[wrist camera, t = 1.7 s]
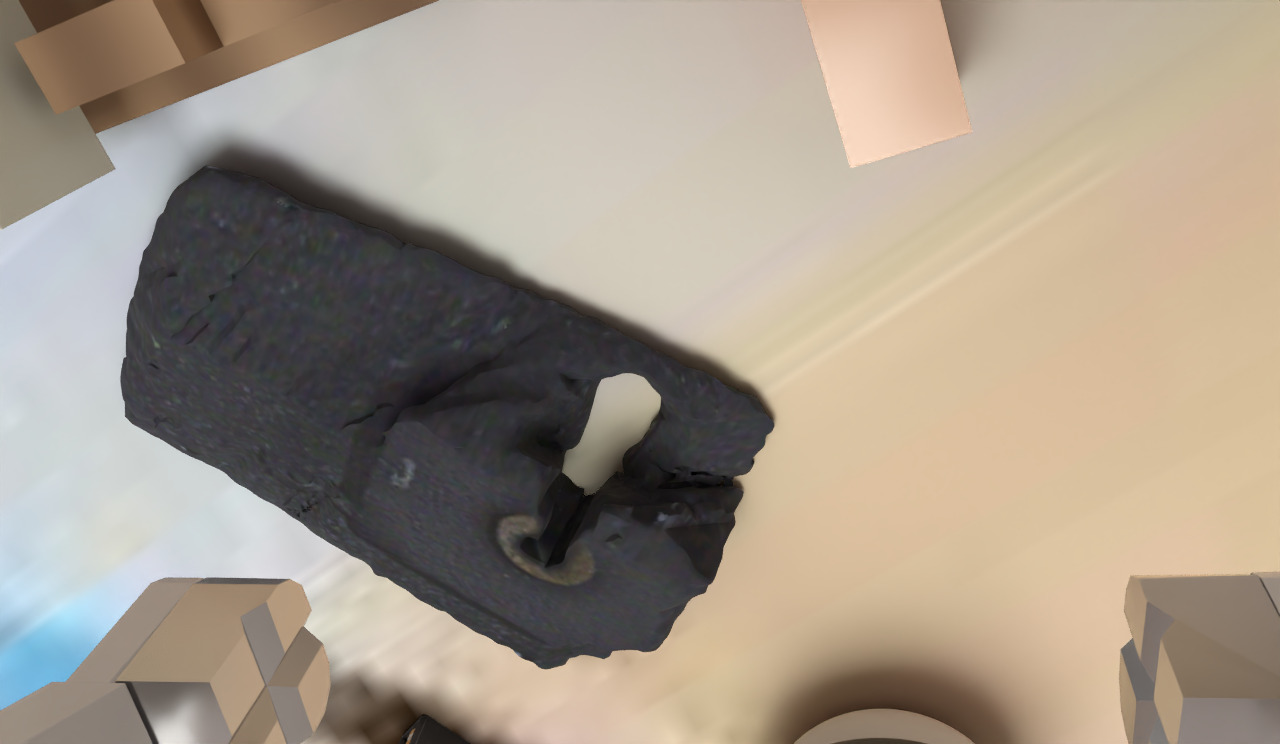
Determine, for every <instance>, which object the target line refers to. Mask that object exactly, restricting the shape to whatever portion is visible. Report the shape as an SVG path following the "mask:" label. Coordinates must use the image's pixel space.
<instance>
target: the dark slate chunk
mask: <svg viewBox="0 0 1280 744" xmlns="http://www.w3.org/2000/svg"><path fill="white" fill-rule="evenodd" d="M126 356H127V357H125V358H124V359H123V364H122V370H121V389H122V396H123V399H124V401H125V417H126V418H127V419H128V420H129V421H130V422H131V423H132V424H134V425H135V426H137V427H139V428H141V429H143V430H145V431H146V432H148V433H150V434H151V435H153V436H155V437H158V438H160V439H162V440H163V441H165V442H166V443H168V444H170V445H171V446H173V447H174V448H176V449H178V450H179V451H181V452H183V453H185V454H187V455H189V456H191V457H193V458H195V459H198V460H201V461H203V462H205V463H207V464H208V465H211V466H213V467H215V468H218V469H220V470H221V471H223V472H225V473H226V474H227V475H228V476H229V477H230V478H231V479H232V480H233V481H235V482H236V483H237V484H239V485H241V486H243V487H245V488H247V489H249V490H250V491H251V492H253V493H254V494H255V495H257V496H258V497H260V498H262V499H264V500H265V501H268V502H270V503H272V504H274V505H276V506H278V507H279V508H281V509H282V510H283V511H285V512H286V513H287V514H289V515H290V516H291V517H293V518H295V519H296V520H298V521H300V522H301V523H303V524H304V525H305V526H306V527H307V528H308V529H310V530H311V531H312V532H313V533H315V534H316V535H318V536H319V537H321V538H323V539H324V540H326V541H327V542H329V543H330V544H332V545H334V546H336V547H338V548H339V549H341V550H343V551H345V552H346V553H348V554H349V555H351V556H353V557H355V558H358V559H360V560H362V561H364V562H366V563H367V564H368V565H369V566H370V567H371V568H372V570H373V572H374V573H375V574H376V575H377V576H382V577H386V578H388V579H389V580H391V581H392V582H394V583H395V584H397V585H398V586H400V587H402V588H404V589H406V590H407V591H409V592H410V593H411V594H412V595H414V596H415V597H416V598H417V599H419V600H421V601H423V602H425V603H427V604H429V605H431V606H432V607H434V608H436V609H438V610H440V611H446V612H447V613H448V614H450V615H451V616H452V617H453V618H454V619H456V620H457V621H459V622H461V623H462V624H464V625H466V626H467V627H469V628H470V629H472V630H473V631H475V632H477V633H479V634H482V635H484V636H487V637H489V638H490V639H492V640H493V641H495V642H496V643H498V644H501V645H504V646H507V647H510V648H511V649H513V650H514V652H515V653H516V654H517V655H518V656H519V657H521V658H523V659H525V660H528V661H531V662H534V663H535V664H536V665H537V666H538V667H540V668H542V669H551V668H554V667H558V666H562V665H564V664H566V662H567V660H568V659H569V658H573V657H577V656H579V655H589V656H594V657H599V658H602V659H605V658H607V657H609V656H610V655H611V653H612V651H618V650H639V651H642V652H651V651H654V650H657V649H658V648H659V647H660V645H661V644H662V643H663V641H664V640H665V639H666V638H667V636H668V635H669V633H670V631H671V628H672V626H673V623H674V621H675V620H676V618H677V617H678V616H679V615H680V614H681V613H682V611H683V610H684V608H685V606H686V604H687V603H688V602H689V601H690V600H691V599H692V598H693V597H695V596H697V595H700V594H703V593H705V592H706V590H707V587H708V585H709V584H711V583H712V582H713V580H714V578H715V576H716V573H717V570H718V567H719V565H720V562H721V560H722V555H723V547H724V545H725V543H726V541H727V539H728V536H729V534H730V532H731V530H732V529H733V528H734V526H735V516H734V512H735V509H736V508H737V506H738V504H739V502H740V501H741V499H742V497H743V492H744V491H742V490H741V489H740V488H738V487H735V486H733V482H732V479H733V477H735V476H739V475H744V474H746V473H748V472H749V471H750V470H751V468H752V467H753V464H754V461H753V457H754V456H755V455H756V454H757V453H758V452H759V451H760V450H761V449H762V448H763V447H764V445H765V437H766V435H768V434H769V433H771V432H772V430H773V428H774V423H773V421H772V420H771V419H770V418H769V416H768V415H767V414H766V412H765V411H764V409H763V407H762V405H761V403H760V402H759V400H758V399H757V398H756V397H755V396H752V395H750V394H746V393H742V392H740V391H739V390H738V389H736V388H734V387H731V386H728V385H726V386H725V385H724V384H723V383H722V382H720V381H719V380H717V379H716V378H714V377H713V376H711V375H709V374H707V373H706V372H704V371H701V370H697V369H693V368H688V367H685V366H683V365H681V364H680V363H678V362H677V361H676V360H674V359H673V358H671V357H670V356H667V355H665V354H662V353H659V352H657V351H655V350H653V349H651V348H650V347H648V346H647V345H645V344H643V343H641V342H639V341H637V340H634V339H632V338H630V337H628V336H626V335H624V334H623V333H621V332H619V331H618V330H616V329H614V328H612V327H610V326H609V325H607V324H605V323H603V322H601V321H600V320H598V319H596V318H593V317H581V316H580V315H579V314H578V313H577V312H576V311H574V310H573V309H572V308H571V307H569V306H567V305H564V304H560V303H557V302H555V301H554V300H547V299H544V298H542V297H540V296H538V295H537V294H536V293H534V292H533V291H531V290H526V289H520V288H515V287H512V286H510V285H509V284H507V283H506V282H504V281H503V280H501V279H500V278H498V277H491V276H486V275H483V274H481V273H478V272H476V271H473V270H471V269H468V268H466V267H464V266H463V265H461V264H459V263H458V262H456V261H454V260H453V259H451V258H449V257H446V256H444V255H441V254H440V253H438V252H436V251H434V250H432V249H428V248H421V247H418V246H415V245H413V244H411V243H408V244H404V243H402V242H401V241H400V240H398V239H397V238H396V237H394V236H393V235H392V234H390V233H388V232H386V231H383V230H380V229H377V228H373V227H369V226H367V225H364V224H359V223H356V222H354V221H352V220H351V219H348V218H344V217H341V216H340V215H338V214H336V213H334V212H332V211H329V210H326V209H319V208H316V207H313V206H311V205H309V204H306V203H303V202H300V201H298V200H297V199H295V198H293V197H292V196H290V195H289V194H287V193H286V192H284V191H282V190H280V189H279V188H276V187H274V186H272V185H270V184H269V183H267V182H265V181H263V180H261V179H259V178H257V177H254V176H249V175H245V174H242V173H239V172H234V171H229V170H225V169H222V168H216V167H210V166H205V167H203V168H202V169H200V170H199V171H198V172H196V173H195V174H194V175H193V176H191V177H190V178H189V179H187V180H186V181H185V182H183V183H182V184H180V185H179V186H178V187H177V188H176V189H175V190H174V191H173V193H172V195H171V196H170V198H169V200H168V202H167V205H166V207H165V210H164V212H163V213H162V214H161V215H160V216H159V217H158V219H157V222H156V226H155V230H154V233H153V236H152V239H151V242H150V244H149V245H148V246H147V248H146V249H145V250H144V252H143V257H142V261H141V264H140V267H139V277H138V281H137V285H136V288H135V291H134V297H133V298H132V299H131V301H130V304H129V309H128V313H127V333H126ZM622 373H633V374H637V375H640V376H642V377H644V378H645V379H646V380H647V381H648V382H649V383H650V384H651V386H652V387H653V388H654V389H655V390H656V391H657V392H658V393H659V394H660V396H661V407H660V411H659V414H658V416H657V417H656V418H655V419H654V420H653V421H652V423H651V425H650V430H649V431H648V432H647V433H646V435H645V436H644V438H643V439H642V440H641V441H640V442H639V443H637V444H636V445H634V446H632V447H631V448H629V449H628V450H627V451H626V453H625V454H624V457H623V469H624V473H620V472H616V473H615V474H614V476H612V477H611V478H610V479H609V480H608V481H607V482H606V483H605V484H604V485H603V486H602V487H601V489H599V490H598V491H597V492H596V494H595V495H588V496H583V492H584V489H582V488H579V487H576V486H575V484H574V483H573V482H572V481H571V480H570V479H569V478H568V477H567V476H566V475H564V474H563V473H562V470H563V469H562V467H563V462H564V455H565V452H566V450H569V449H572V448H574V447H575V446H576V445H577V444H578V443H579V442H580V439H581V437H582V435H583V432H584V429H585V427H586V425H587V422H588V420H589V416H590V412H591V409H592V405H593V402H594V397H595V394H596V390H597V387H598V385H599V383H600V381H601V379H604V378H606V377H613V376H616V375H619V374H622ZM722 476H725V477H724V478H723V477H722ZM722 480H723V481H724V483H725V484H724V485H723V486H720V485H719V484H718V483H720V482H721V481H722Z"/></svg>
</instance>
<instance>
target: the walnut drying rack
mask: <svg viewBox="0 0 1280 744" xmlns="http://www.w3.org/2000/svg"><path fill="white" fill-rule="evenodd" d="M436 1H438V0H19V2H20V4H21V6H22V7H23V9H24V11H25V13H26V14H27V16H28V18H29V20H30V21H31V23H32V25H33V27H34V28H35V30H36V32H37V34H35V35H32V36H30V37H28V38H25V39H23V40H21V41H19V42H16V43H14V44H15V46H16V47H17V49H18V51H19V53H20V54H21V56H22V58H23V59H24V61H25V63H26V64H27V66H28V68H29V70H30V71H31V73H32V75H33V76H34V78H35V80H36V81H37V83H38V85H39V87H40V88H41V90H42V92H43V93H44V95H45V97H46V99H47V100H48V102H49V104H50V105H51V107H52V109H53V110H54V112H55V114H56V115H57V114H60V113H62V112H65V111H67V110H70V109H72V108H75V107H77V106H80V108H81V110H82V112H83V113H84V115H85V117H86V118H87V120H88V122H89V124H90V125H91V127H92V129H93V131H94V132H95V134H96V133H99V132H101V131H104V130H106V129H109V128H111V127H114V126H117V125H119V124H122V123H124V122H127V121H129V120H132V119H135V118H137V117H140V116H142V115H145V114H147V113H150V112H153V111H155V110H158V109H160V108H163V107H165V106H168V105H171V104H173V103H176V102H178V101H181V100H183V99H186V98H189V97H191V96H194V95H196V94H199V93H202V92H204V91H207V90H209V89H212V88H214V87H217V86H220V85H222V84H225V83H227V82H230V81H232V80H235V79H238V78H240V77H243V76H245V75H248V74H250V73H253V72H256V71H258V70H261V69H263V68H266V67H268V66H271V65H274V64H276V63H279V62H281V61H284V60H286V59H289V58H292V57H294V56H297V55H299V54H302V53H305V52H307V51H310V50H312V49H315V48H317V47H320V46H323V45H325V44H328V43H330V42H333V41H335V40H338V39H341V38H343V37H346V36H348V35H351V34H353V33H356V32H359V31H361V30H364V29H366V28H369V27H371V26H374V25H377V24H379V23H382V22H384V21H387V20H389V19H392V18H395V17H397V16H400V15H402V14H405V13H407V12H410V11H413V10H415V9H418V8H420V7H423V6H426V5H428V4H431V3H433V2H436Z"/></svg>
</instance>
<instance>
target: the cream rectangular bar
mask: <svg viewBox="0 0 1280 744" xmlns="http://www.w3.org/2000/svg"><path fill="white" fill-rule="evenodd" d="M35 34H37V32H36V30H35V28H34V27H33V25H32V23H31V21H30V20H29V18H28V16H27V14H26V13H25V11H24V9H23V7H22V6H21V4H20V2H19V0H0V230H1V229H3V228H5V227H7V226H9V225H11V224H13V223H15V222H17V221H18V220H20V219H22V218H24V217H26V216H28V215H30V214H32V213H33V212H35V211H37V210H39V209H41V208H43V207H45V206H47V205H49V204H50V203H52V202H54V201H56V200H58V199H60V198H62V197H64V196H65V195H67V194H69V193H71V192H73V191H75V190H77V189H79V188H80V187H82V186H84V185H86V184H88V183H90V182H92V181H94V180H96V179H97V178H99V177H101V176H103V175H105V174H107V173H109V172H111V171H112V170H114V169H115V167H114V165H113V164H112V162H111V160H110V158H109V157H108V155H107V153H106V151H105V150H104V148H103V146H102V145H101V143H100V141H99V139H98V138H97V136H96V134H95V132H94V131H93V129H92V127H91V125H90V124H89V122H88V120H87V118H86V117H85V115H84V113H83V112H82V110H81V108H80V106H77V107H75V108H72V109H70V110H67V111H65V112H62V113H60V114H57V115H56V114H55V112H54V110H53V109H52V107H51V105H50V104H49V102H48V100H47V99H46V97H45V95H44V93H43V92H42V90H41V88H40V87H39V85H38V83H37V81H36V80H35V78H34V76H33V75H32V73H31V71H30V70H29V68H28V66H27V64H26V63H25V61H24V59H23V58H22V56H21V54H20V53H19V51H18V49H17V47H16V46H15V44H14V43H16V42H19V41H21V40H23V39H25V38H28V37H30V36H32V35H35Z"/></svg>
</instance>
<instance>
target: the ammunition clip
mask: <svg viewBox="0 0 1280 744" xmlns="http://www.w3.org/2000/svg"><path fill="white" fill-rule="evenodd" d="M399 744H470V743H469V742H467V741H466V740H464V739H463V738H461V737H460V736H458V735H457V734H455V733H454V732H452V731H450V730H449V729H447V728H446V727H444V726H443V725H441V724H440V723H438V722H437V721H435V720H434V719H432V718H431V717H429V716H428V715H427V716H421V717H420V718H419V719H418V720H417V721H416V722H415V723H414V724H413V725H412V726H411V727H410V728H409V729H408V730H407V731H406V732H405V733H404V734H403V735H402V737H401V740H400V742H399Z"/></svg>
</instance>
